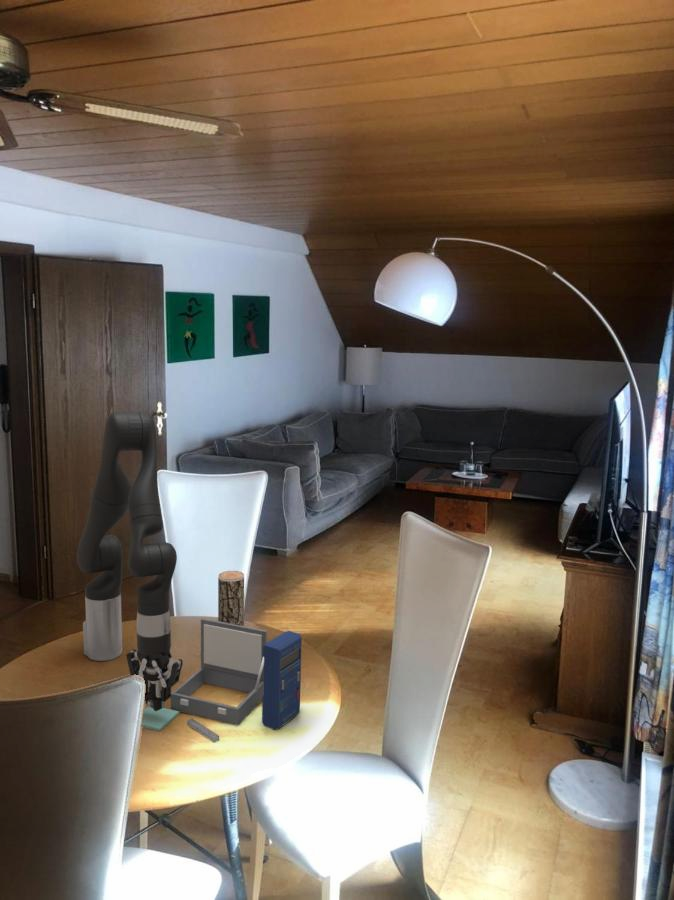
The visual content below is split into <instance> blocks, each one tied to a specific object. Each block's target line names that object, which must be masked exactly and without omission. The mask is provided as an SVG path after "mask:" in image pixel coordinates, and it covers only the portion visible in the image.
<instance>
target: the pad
mask: <svg viewBox="0 0 674 900" xmlns="http://www.w3.org/2000/svg"><path fill="white" fill-rule="evenodd" d="M149 707H150V706H149ZM149 707H148V706H146V707H145V708H144V709H143V710H144V713H143V718H142V725H141V726H140V727H143V728H146V729H150V730H154V731H157V732H161V731H162V730H164V728H165V727H166V726H168V725H169V724H171V723H172V721H173V720H175V718H176V717H177V716H179V715H180V711H176V710H172V709H171V708H167V707H164V708H162V709H160V710H158V711H154V709H153V708H152V707H151V708H149Z"/></svg>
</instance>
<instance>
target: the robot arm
mask: <svg viewBox="0 0 674 900" xmlns="http://www.w3.org/2000/svg"><path fill="white" fill-rule="evenodd" d="M156 428H157V427H156V423H155V420H154V417H153V415H152V414H151V413H149V412H147V411H114V412H111V413H110V414H109V415H108V417H107V418H106V421H105V426H104V431H103V438H102V439H103V440H102V447H101V454H100V462H99V465H98V466H99V467H98V470H97V474H96V479H95V482H94V486H93V491H92V496H91V500H90V505H89V506H90V507H89V510H88V516H87V519H86V522H85V526H84V529H83V531H82V534H81V537H80V539H79V543H78V545H77V550H76V552H77V553H76V563H77V565H78V568H79V570H80V572H82V573H84V574H95V573H100V574H99V575H98V576H97V577H95V578H94V579H92V580H91V581H89V582H87V584H85V587H84V598H85V600H84V601H85V620H84V621H83V622H82V633H83V634H82V636H83V637H82V638H83V655H84V656H86V657H87V658H89V660H92V661H98V662H104V661H105V662H106V661H111V660H114V659H116V658H119V657H120V656H121V655H122V653H123V627H122V626H123V625H122V624H123V623H122V596H121V595H122V592H121V591H122V584H123V574H122V573H123V547H122V543H121V540H120V539H119V537H117V535H114V534H108V533H109V531H110V530H112V528H114V527H115V526H116V525H117V524H118V523H119V522H120V521H121V520H122V518H124V516H125V515H126V513H127V512H128V514H129V515H128V516H129V522H130V544H129V545H130V546H129V552H128V558H127V568H128V569H129V573H130V574H132V575H133V576H134V577H135V578H145V577H153V576H156V577H155V578H154V579H153V580H150V581H148V582H145V583H143V584H142V585H140V586H139V587H137V588H138V589H137V590H136V591H137V593H136V609H137V612H136V613H137V614H136V622H135V623H136V648H137V650H136V649H134V648H133V649H132V650H131V651H129V652H128V653H126V655H125V656H126V660H127V665H128V671H129V674H130V676H131V675H134V674H136V675H140V676H142V677H143V678H144V675H143V673H142V671H145V669H146V667H151V668H155V671H156V674H157V675H159V677H158V678H159V679H160V681H161V699H162V701H163V702H164V703H165V702H167V701H168V700H169V699H170V696H171V693H172V687H173V686H175V685H176V684H177V683H179V680H180V676H181V673H182V668H183V663H184V662H183V659H181V658H178V659H176V658H173V656H172V654H171V647H172V639H171V635H172V634H171V632H172V629H171V628H172V627H171V626H172V623H171V613H170V588H171V584H172V579H173V576H174V573H175V570H176V565H177V562H178V560H177V558H178V555H177V551H176V548H175V547H174V546H173V544H171V542H156V543H149V544H144V540H145V539H146V538H149V537H152V536H154V535H157V534H159V533H160V532H162V530H163V527H164V523H163V522H164V521H163V516H162V510H161V504H160V497H159V486H158V483H159V481H158V441H157V440H158V439H157V437H158V436H157V429H156ZM124 451H125V452H126V451H127V452H128V451H131V452H132V451H134V452H135V451H137V452H138V451H140V452H141V465H140V467H139V471H138V474H137V475H136V477H135V480H134V481H133V483H132V482H131V480H130V478H129V476H128V474H127V473H126V471H125V469H124V468H123V467H122V465H121V463H120V460H119V454H120V453H121V452H124ZM107 534H108V535H107ZM140 663H141V664H140ZM164 669H166V672H165V673H162V671H163V670H164ZM145 672H146V671H145ZM144 680H145V679H144ZM145 684H146V693H148V680H145ZM146 693H145V694H146Z"/></svg>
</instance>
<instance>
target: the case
mask: <svg viewBox="0 0 674 900" xmlns="http://www.w3.org/2000/svg"><path fill="white" fill-rule="evenodd" d="M267 642H268V630H267V629H260V628H255V627H250V626H246V625H244V626H240V625H235V624H230V623H225V622H219V621H218V620H214V619H208V618H200V668H199V669H198V670H196V671H195V672H194V673H193V674H192V675H191V676H189V677H188V678H187V679H186V680H185V681H183V682H182V683H181V684H180V685H179V686H178V687H176V688H175V689H174V690H172V691H171V696H170V698H169V699H170V705H169V706H170V709H171V710H175V711H179V713H186V714H189V715H192V716H193V715H194V716H197V717H198V716H199V717H201V718H205V719H210V720H213V721H217V722H218V721H219V722H222V723H225V724H226V723H227V724H231V725H233V726H234V725H235V726H239V725H240V724H241V723H242V722H243V721H244V720H245V718H247V716H248V715H249V714H250V713H251V712H252V711H253V710H254V709H255V708H256V707H257V706H258V704H259V703H261V701H262V696H264V657H263V645H264V644H266V643H267ZM204 684H207V685H212V686H217V687H221V688H226V689H230V690H233V691H240V692H244V693H248V695H246V697H245V698H244V699H243V700H242V701H241V702H240V703H239V704H238V705H237V706H233V705H229V704H224V703H222V702H216V701H212V700H209V699H208V700H207V699H204V698H200V697H194V696H191V695H192V694H193V693H194V692H195V691H197V689H198V688H200V687H201V686H202V685H204Z"/></svg>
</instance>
